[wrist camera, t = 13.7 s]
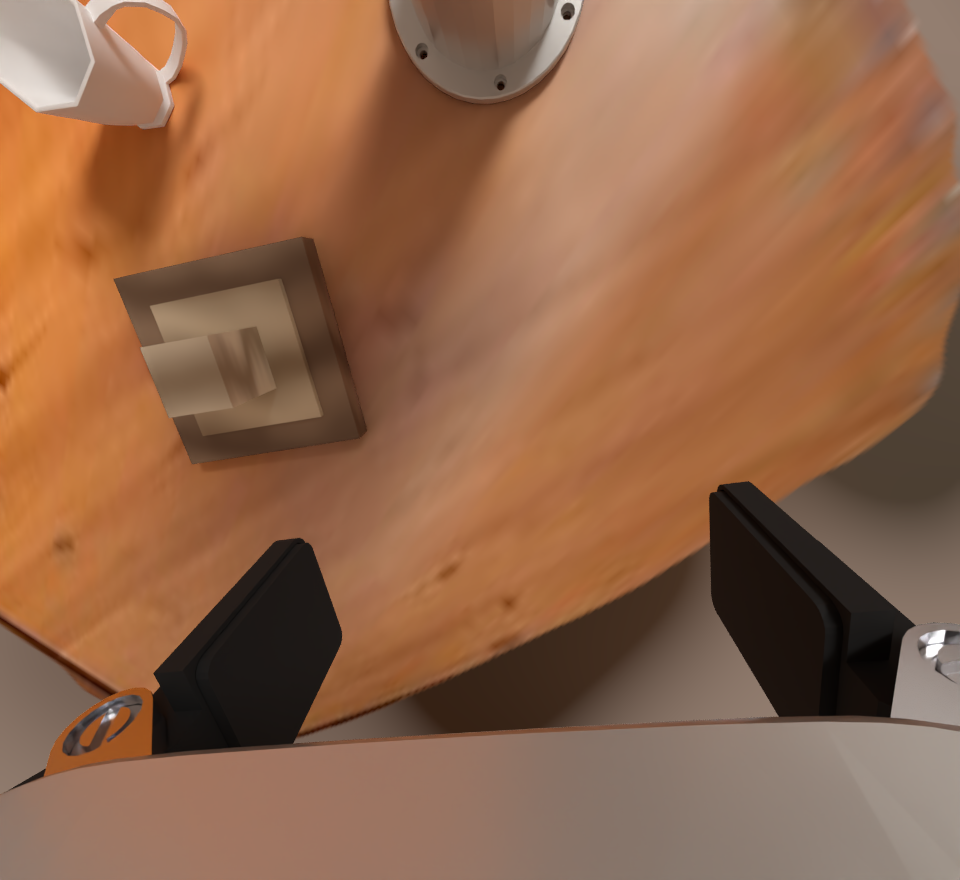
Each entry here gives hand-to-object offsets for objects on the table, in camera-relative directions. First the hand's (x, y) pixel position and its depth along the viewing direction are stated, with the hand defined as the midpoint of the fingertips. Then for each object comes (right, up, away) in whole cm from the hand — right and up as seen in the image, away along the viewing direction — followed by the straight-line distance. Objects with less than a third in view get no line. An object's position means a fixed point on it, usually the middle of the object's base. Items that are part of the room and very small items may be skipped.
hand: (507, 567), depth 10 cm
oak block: (-20, +9, +26) cm, 34 cm away
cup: (-24, +29, +22) cm, 43 cm away
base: (-20, +10, +28) cm, 36 cm away
